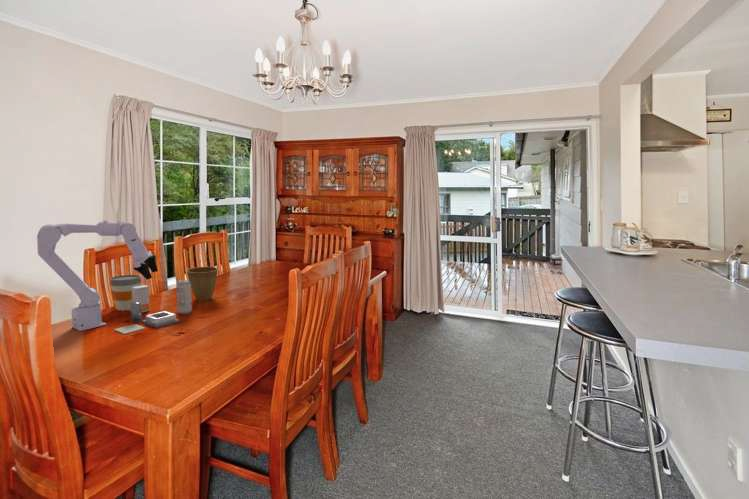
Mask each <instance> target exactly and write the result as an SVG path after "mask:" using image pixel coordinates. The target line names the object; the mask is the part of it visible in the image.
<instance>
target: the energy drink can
mask: <svg viewBox="0 0 749 499" xmlns="http://www.w3.org/2000/svg"><path fill="white" fill-rule="evenodd" d="M175 288H176V304H177V312H178V314H181V315H186V314H190V313H191V312H192V311H193V303H192V288H191V284H190V282H189V279H181V280H177V283H176V286H175Z"/></svg>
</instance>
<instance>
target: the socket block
mask: <svg viewBox="0 0 749 499" xmlns="http://www.w3.org/2000/svg"><path fill="white" fill-rule="evenodd" d="M180 322H181V320H180V319H178V318H176V313H172V312H169V311H166V310H163V311H159V312H155V313H151V314H146V315H145V319H142V321H141V323H142V324H144V325H147V326H150V327H153V328H155V329H160V328H162V327H166V326H169V325H174V324H176V323H177V324H178V323H180Z"/></svg>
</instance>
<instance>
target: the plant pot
mask: <svg viewBox="0 0 749 499" xmlns="http://www.w3.org/2000/svg"><path fill="white" fill-rule="evenodd" d="M218 271H219V268H217V267H215V266H198V267H192V268H188V269H186V274H187V277H188V280H189V282H190V284H191V292H192V293H193V295H194V297H195V299H196V301H200V302H201V301H209V300H211V299H212V298H213V295H214V292H215V288H216V285H217V284H216V283H217V278H218V273H219V272H218Z"/></svg>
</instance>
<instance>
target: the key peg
mask: <svg viewBox="0 0 749 499" xmlns="http://www.w3.org/2000/svg"><path fill="white" fill-rule="evenodd" d="M130 307H131V310H130V317H131V318H130V319H131V323H139V322H142V321H143V312H142V309H141V302H132V303H130Z"/></svg>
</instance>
